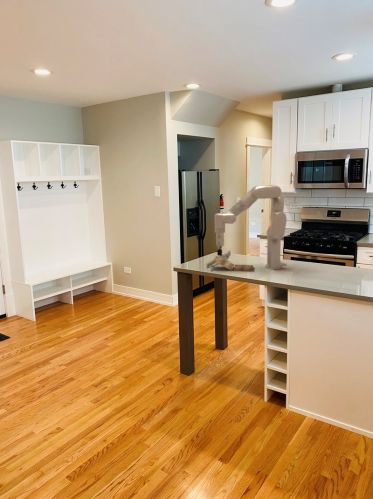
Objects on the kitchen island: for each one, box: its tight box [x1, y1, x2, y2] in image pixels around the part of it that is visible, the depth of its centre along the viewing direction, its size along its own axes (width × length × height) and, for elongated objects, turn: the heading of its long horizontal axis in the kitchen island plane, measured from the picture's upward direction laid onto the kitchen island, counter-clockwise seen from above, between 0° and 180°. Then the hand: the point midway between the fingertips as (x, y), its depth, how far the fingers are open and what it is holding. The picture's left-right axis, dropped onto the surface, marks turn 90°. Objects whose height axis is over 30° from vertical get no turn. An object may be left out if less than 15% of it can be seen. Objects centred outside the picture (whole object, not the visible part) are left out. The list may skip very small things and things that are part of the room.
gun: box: [205, 250, 231, 269], centre depth 294 cm, size 2×30×8 cm, turn 138°
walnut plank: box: [233, 264, 254, 272], centre depth 275 cm, size 13×11×2 cm
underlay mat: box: [210, 265, 256, 273], centre depth 277 cm, size 31×13×1 cm, turn 78°
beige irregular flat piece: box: [212, 255, 235, 270], centre depth 277 cm, size 15×11×2 cm
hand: (219, 255), depth 277 cm, fingers closed
